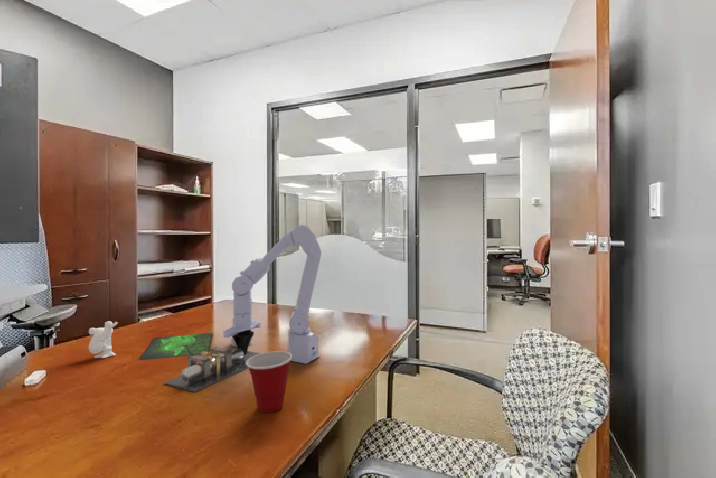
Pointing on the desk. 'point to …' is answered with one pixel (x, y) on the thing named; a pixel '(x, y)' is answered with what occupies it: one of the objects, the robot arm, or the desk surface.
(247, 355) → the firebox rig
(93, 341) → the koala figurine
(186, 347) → the mouse mat
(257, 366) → the plastic cup
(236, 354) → the tube
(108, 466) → the desk surface
